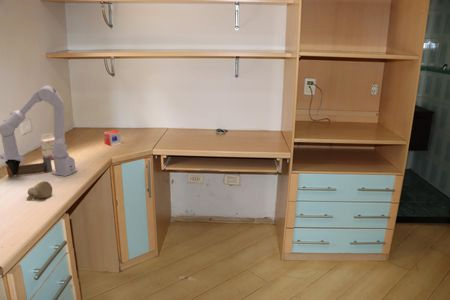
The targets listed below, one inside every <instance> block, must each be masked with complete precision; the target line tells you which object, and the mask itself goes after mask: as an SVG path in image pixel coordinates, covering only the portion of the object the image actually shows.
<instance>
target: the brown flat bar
mask: <svg viewBox="0 0 450 300" xmlns="http://www.w3.org/2000/svg"><path fill="white" fill-rule="evenodd" d="M6 171H7V176H8V178H10V177H18V176H25V175H32V174H33V175H34V174H41V173H42V174H43V173H48V172H47V170H46V164H45V162H44V161H43V162H38V163H29V164H22V165H20V164H19V168H18V174H15V175H14V174H13V173H12V172H11V170H10V168H9V166H8V165H6Z"/></svg>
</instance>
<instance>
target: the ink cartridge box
mask: <svg viewBox="0 0 450 300" xmlns="http://www.w3.org/2000/svg"><path fill="white" fill-rule="evenodd" d="M39 136H40V137H39V138H40V140H39V142H40V146H41V152H42V153H41V154H42V158H43V157H46V156H49V157H51V158H50V159H51V161H54V159H53V156H54V155H53V153H52V150H53V148H54V139H55V136H54V132H49V133H43V134H40V135H39Z"/></svg>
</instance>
